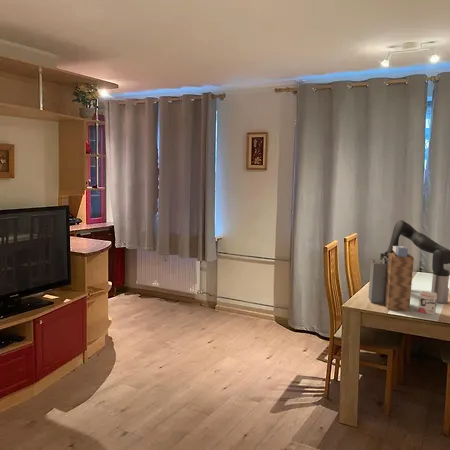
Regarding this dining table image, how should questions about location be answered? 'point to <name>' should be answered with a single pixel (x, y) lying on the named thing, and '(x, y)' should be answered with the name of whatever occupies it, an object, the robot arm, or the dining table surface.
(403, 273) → the stand
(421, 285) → the dining table surface
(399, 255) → the cream rectangular block
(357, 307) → the dining table surface
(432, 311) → the ink box
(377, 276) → the tray
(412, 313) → the dining table surface
